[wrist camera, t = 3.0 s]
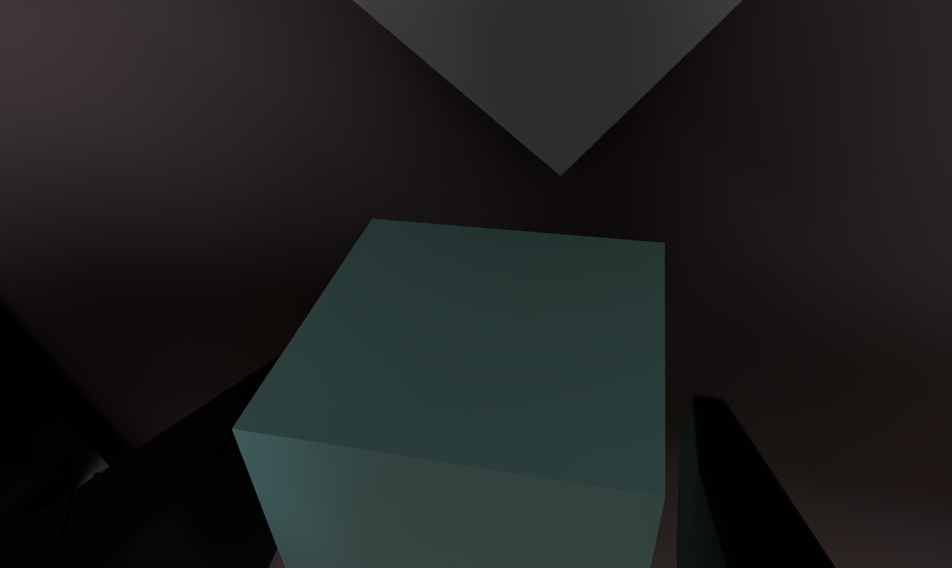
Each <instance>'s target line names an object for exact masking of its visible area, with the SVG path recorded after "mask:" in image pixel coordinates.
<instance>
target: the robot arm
mask: <svg viewBox="0 0 952 568" xmlns="http://www.w3.org/2000/svg"><path fill="white" fill-rule="evenodd" d="M280 356H281V355H279V356H278V357H276V358H275V359H273V360H272V361H270V362H269V363H267V364H266V365H264V366H263V367H261V368H260V369H258V370H256V371H255V372H253V373H252V374H250V375H249V376H247V377H246V378H244V379H243V380H241V381H240V382H238V383H237V384H235V385H234V386H232V387H230V388H229V389H227V390H226V391H224V392H223V393H221V394H220V395H218V396H217V397H215V398H214V399H212V400H211V401H209V402H208V403H206V404H204V405H203V406H201V407H200V408H198V409H197V410H195V411H194V412H192V413H191V414H189V415H188V416H186V417H185V418H183V419H181V420H180V421H178V422H177V423H175V424H174V425H172V426H171V427H169V428H168V429H166V430H165V431H163V432H162V433H160V434H159V435H157V436H155V437H154V438H152V439H151V440H149V441H148V442H146V443H145V444H143V445H142V446H140V447H139V448H137V449H136V450H134V451H133V452H131V453H129V454H128V455H125V454H124V453H123V452H122V451H121V450H120V449H119V447H118V446H117V445H116V444H115V443H114V442H113V441H112V440H111V439H110V438H109V436H108V435H107V434H106V433H105V432H104V431H103V430H102V429H101V428H100V426H99V425H98V424H97V423H96V422H95V421H94V420H93V419H92V418H91V416H90V415H89V414H88V413H87V412H86V411H85V410H84V409H83V408H82V407H81V405H80V404H79V403H78V402H77V401H76V400H75V399H74V398H73V397H72V395H71V394H70V393H69V392H68V391H67V390H66V389H65V388H64V387H63V386H62V384H61V383H60V382H59V381H58V380H57V379H56V378H55V377H54V376H53V374H52V373H51V372H50V371H49V370H48V369H47V368H46V367H45V366H44V364H43V363H42V362H41V361H40V360H39V359H38V358H37V357H36V356H35V355H34V353H33V352H32V351H31V350H30V349H29V348H28V347H27V346H26V345H25V343H24V342H23V341H22V340H21V339H20V338H19V337H18V336H17V335H16V333H15V332H14V331H13V330H12V329H11V328H10V327H9V326H8V325H7V324H6V322H5V321H4V320H3V319H2V318H1V317H0V568H269V566H270V564H271V561H272V559H273V557H274V555H275V553H276V551H277V546H276V543H275V540H274V538H273V535H272V532H271V530H270V527H269V525H268V522H267V519H266V517H265V514H264V512H263V509H262V506H261V504H260V501H259V499H258V496H257V493H256V491H255V488H254V485H253V483H252V480H251V478H250V475H249V472H248V470H247V467H246V465H245V462H244V459H243V457H242V454H241V452H240V449H239V446H238V444H237V441H236V438H235V436H234V433H233V431H232V428H233V426H234V425H235V423H236V422H237V420H238V419H239V417H240V416H241V414H242V413H243V411H244V410H245V408H246V407H247V405H248V404H249V402H250V401H251V399H252V398H253V396H254V395H255V393H256V392H257V390H258V389H259V387H260V386H261V384H262V383H263V381H264V380H265V378H266V377H267V375H268V374H269V372H270V371H271V369H272V368H273V366H274V365H275V363H276V362H277V360H278V359H279V357H280ZM677 568H835V566H834V565H833V563H832V562H831V560H830V558H829V557H828V555H827V554H826V552H825V551H824V549H823V548H822V546H821V545H820V543H819V542H818V540H817V539H816V537H815V536H814V534H813V533H812V531H811V530H810V528H809V527H808V525H807V524H806V522H805V521H804V519H803V518H802V516H801V515H800V513H799V512H798V510H797V509H796V507H795V506H794V504H793V503H792V501H791V500H790V498H789V497H788V495H787V494H786V492H785V490H784V489H783V487H782V486H781V484H780V483H779V481H778V480H777V478H776V477H775V475H774V474H773V472H772V471H771V469H770V468H769V466H768V465H767V463H766V462H765V460H764V459H763V457H762V456H761V454H760V453H759V451H758V450H757V448H756V447H755V445H754V444H753V442H752V441H751V439H750V438H749V436H748V435H747V433H746V432H745V430H744V429H743V427H742V426H741V424H740V422H739V421H738V419H737V418H736V416H735V415H734V413H733V412H732V410H731V409H730V407H729V406H728V404H727V403H726V402H725V401H724V400H723V399H721V398H717V397H709V396H701V395H694V396H692V397H691V398H690V399H689V403H688V407H687V412H686V416H685V421H684V426H683V430H682V435H681V441H680V453H679V484H678V517H677Z"/></svg>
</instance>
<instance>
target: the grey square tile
mask: <svg viewBox="0 0 952 568" xmlns="http://www.w3.org/2000/svg"><path fill="white" fill-rule="evenodd" d="M353 1H354V2H355V3H357V4H358V5H359V6H360V7H361V8H363V9H364V10H365V11H366V12H367V13H368V14H370V15H371V16H372V17H373V18H374V19H376V20H377V21H378V22H379V23H380V24H381V25H383V26H384V27H385V28H386V29H387V30H389V31H390V32H391V33H392V34H393V35H394V36H396V37H397V38H398V39H399V40H400V41H402V42H403V43H404V44H405V45H406V46H407V47H409V48H410V49H411V50H412V51H413V52H415V53H416V54H417V55H418V56H419V57H420V58H422V59H423V60H424V61H425V62H426V63H428V64H429V65H430V66H431V67H432V68H433V69H435V70H436V71H437V72H438V73H439V74H441V75H442V76H443V77H444V78H445V79H446V80H448V81H449V82H450V83H451V84H452V85H454V86H455V87H456V88H457V89H458V90H459V91H461V92H462V93H463V94H464V95H465V96H466V97H468V98H469V99H470V100H471V101H472V102H474V103H475V104H476V105H477V106H478V107H479V108H481V109H482V110H483V111H484V112H485V113H487V114H488V115H489V116H490V117H491V118H492V119H494V120H495V121H496V122H497V123H498V124H500V125H501V126H502V127H503V128H504V129H505V130H507V131H508V132H509V133H510V134H511V135H513V136H514V137H515V138H516V139H517V140H518V141H520V142H521V143H522V144H523V145H524V146H526V147H527V148H528V149H529V150H530V151H531V152H533V153H534V154H535V155H536V156H537V157H539V158H540V159H541V160H542V161H543V162H544V163H546V164H547V165H548V166H549V167H550V168H552V169H553V170H554V171H555V172H556V173H557V174H559V175H560V176H561V175H562V174H563V173H564V172H565V171H566V170H567V169H568V168H569V167H570V166H571V165H572V164H574V163H575V162H576V161H577V160H578V159H579V158H580V157H581V156H582V155H583V154H584V153H585V152H586V151H587V150H588V149H589V148H590V147H591V146H592V145H593V144H594V143H595V142H596V141H597V140H598V139H599V138H600V137H601V136H603V135H604V134H605V133H606V132H607V131H608V130H609V129H610V128H611V127H612V126H613V125H614V124H615V123H616V122H617V121H618V120H619V119H620V118H621V117H622V116H623V115H624V114H625V113H626V112H627V111H628V110H629V109H630V108H631V107H633V106H634V105H635V104H636V103H637V102H638V101H639V100H640V99H641V98H642V97H643V96H644V95H645V94H646V93H647V92H648V91H649V90H650V89H651V88H652V87H653V86H654V85H655V84H656V83H657V82H658V81H659V80H660V79H661V78H663V77H664V76H665V75H666V74H667V73H668V72H669V71H670V70H671V69H672V68H673V67H674V66H675V65H676V64H677V63H678V62H679V61H680V60H681V59H682V58H683V57H684V56H685V55H686V54H687V53H688V52H689V51H690V50H692V49H693V48H694V47H695V46H696V45H697V44H698V43H699V42H700V41H701V40H702V39H703V38H704V37H705V36H706V35H707V34H708V33H709V32H710V31H711V30H712V29H713V28H714V27H715V26H716V25H717V24H718V23H719V22H720V21H722V20H723V19H724V18H725V17H726V16H727V15H728V14H729V13H730V12H731V11H732V10H733V9H734V8H735V7H736V6H737V5H738V4H739V3H740V2H741V1H742V0H353Z"/></svg>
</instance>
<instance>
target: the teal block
mask: <svg viewBox="0 0 952 568" xmlns="http://www.w3.org/2000/svg"><path fill="white" fill-rule="evenodd" d="M232 431H233V433H234V436H235V438H236V441H237V444H238V446H239V449H240V452H241V454H242V457H243V459H244V462H245V465H246V467H247V470H248V472H249V475H250V478H251V480H252V483H253V485H254V488H255V491H256V493H257V496H258V499H259V501H260V504H261V506H262V509H263V512H264V514H265V517H266V519H267V522H268V525H269V527H270V530H271V532H272V535H273V538H274V540H275V543H276V546H277V548H278V551H279V553H280V556H281V559H282V561H283V564H284V566H285V568H651V564H652V559H653V554H654V549H655V545H656V540H657V535H658V530H659V525H660V521H661V516H662V511H663V506H664V501H665V243H661V242H648V241H636V240H624V239H612V238H600V237H588V236H576V235H564V234H552V233H540V232H527V231H515V230H503V229H491V228H479V227H467V226H455V225H443V224H431V223H419V222H407V221H394V220H382V219H372V220H371V221H370V223H369V224H368V226H367V227H366V229H365V230H364V232H363V233H362V235H361V236H360V238H359V239H358V241H357V242H356V244H355V245H354V247H353V248H352V250H351V251H350V253H349V254H348V256H347V257H346V259H345V260H344V262H343V263H342V265H341V266H340V268H339V269H338V271H337V272H336V274H335V275H334V277H333V278H332V280H331V281H330V283H329V284H328V286H327V287H326V289H325V290H324V292H323V293H322V295H321V296H320V298H319V299H318V301H317V302H316V304H315V305H314V307H313V308H312V310H311V311H310V313H309V314H308V316H307V317H306V319H305V320H304V322H303V323H302V325H301V326H300V327H299V329H298V330H297V332H296V333H295V335H294V336H293V338H292V339H291V341H290V342H289V344H288V345H287V347H286V348H285V350H284V351H283V353H282V354H281V356H280V357H279V359H278V360H277V362H276V363H275V365H274V366H273V368H272V369H271V371H270V372H269V374H268V375H267V377H266V378H265V380H264V381H263V383H262V384H261V386H260V387H259V389H258V390H257V392H256V393H255V395H254V396H253V398H252V399H251V401H250V402H249V404H248V405H247V407H246V408H245V410H244V411H243V413H242V414H241V416H240V417H239V419H238V420H237V422H236V423H235V425H234V426H233V428H232Z"/></svg>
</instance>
